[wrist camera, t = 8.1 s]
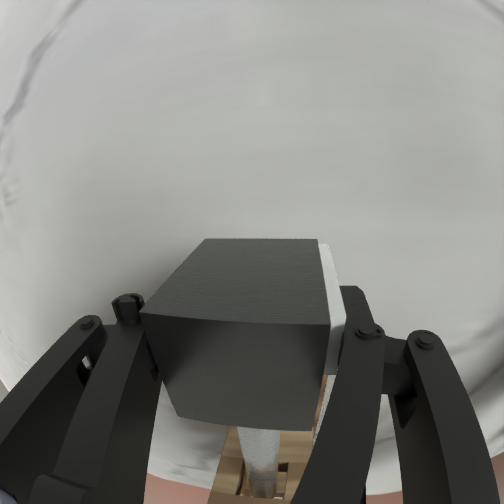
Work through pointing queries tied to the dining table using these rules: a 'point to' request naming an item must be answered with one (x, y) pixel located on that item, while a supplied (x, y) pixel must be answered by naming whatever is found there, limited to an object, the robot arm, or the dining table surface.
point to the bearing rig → (290, 460)
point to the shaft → (244, 342)
